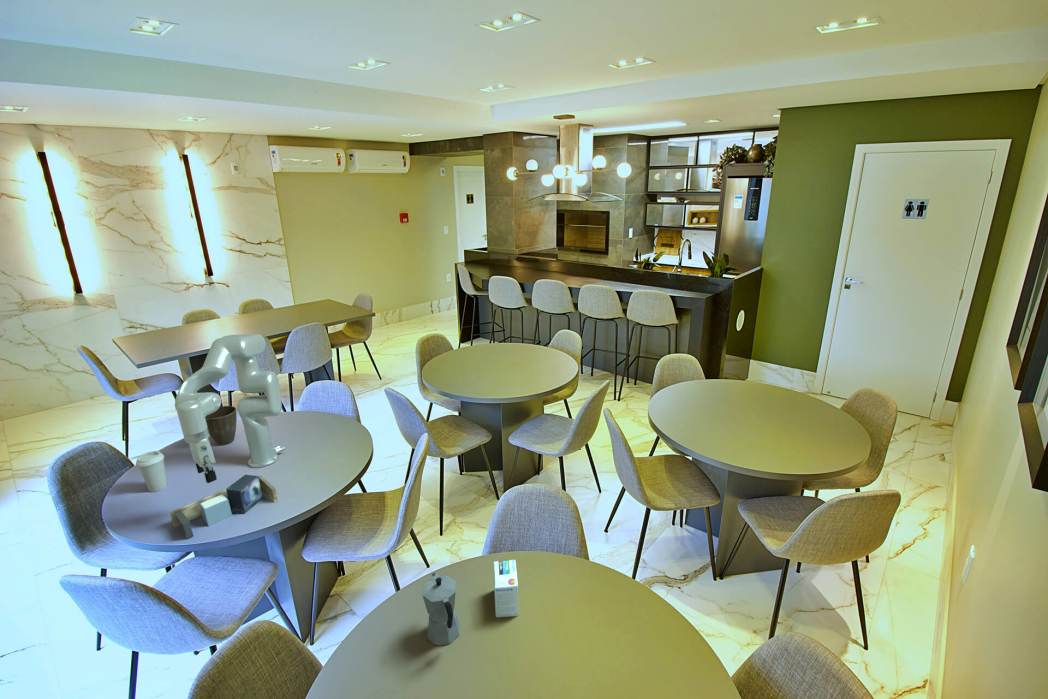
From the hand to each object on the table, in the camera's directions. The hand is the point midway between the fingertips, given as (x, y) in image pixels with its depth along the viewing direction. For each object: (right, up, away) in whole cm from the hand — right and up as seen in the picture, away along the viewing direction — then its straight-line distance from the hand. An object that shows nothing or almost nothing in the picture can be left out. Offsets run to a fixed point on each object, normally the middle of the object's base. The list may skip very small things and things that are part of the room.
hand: (207, 476), depth 183 cm
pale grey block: (0, -17, +6) cm, 18 cm away
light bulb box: (+111, -28, -36) cm, 120 cm away
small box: (+8, -15, +13) cm, 21 cm away
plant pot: (-31, +1, +64) cm, 71 cm away
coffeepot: (+94, -32, -46) cm, 110 cm away
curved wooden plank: (+2, -16, +8) cm, 18 cm away
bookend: (-7, -20, -2) cm, 21 cm away
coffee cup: (-37, -12, +26) cm, 47 cm away
